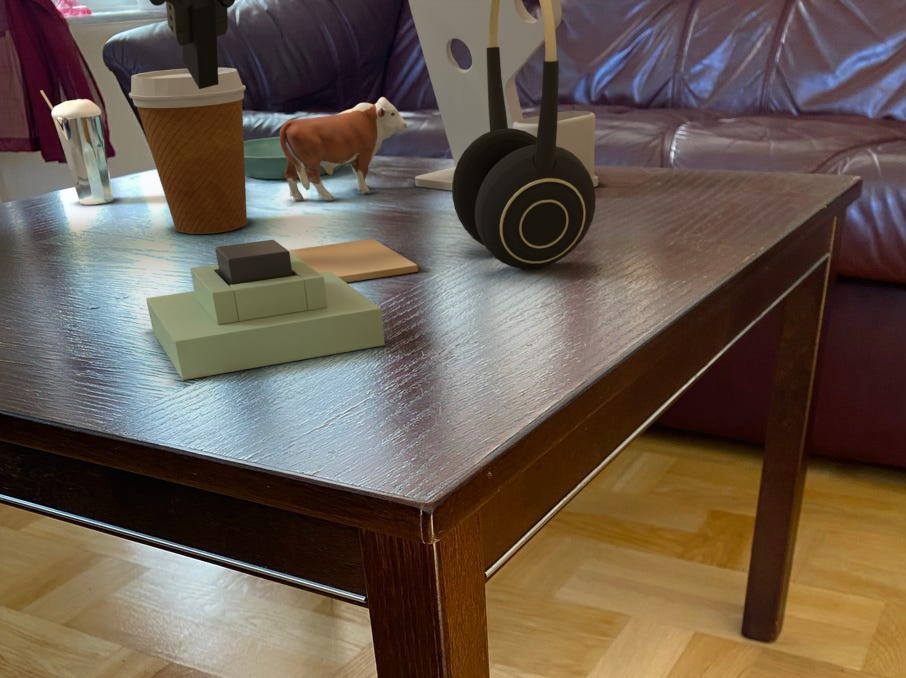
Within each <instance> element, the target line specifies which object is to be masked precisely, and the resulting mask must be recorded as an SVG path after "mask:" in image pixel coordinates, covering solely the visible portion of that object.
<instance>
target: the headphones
mask: <svg viewBox="0 0 906 678" xmlns="http://www.w3.org/2000/svg"><path fill="white" fill-rule="evenodd" d="M540 5H541V6H540ZM539 6H540V12H541V11H542V18H543V26H544V36H545V42H544V48H545V54H544V55H545V57H544V60H543V63H542V83H541V99H540V108H539V115H538V116H539V123H538V131H537V137H536V136H534V135H532V134H530V133H528V132H526V131H522V130H518V129H512V128H508V124H507V116H506V109H505V101H504V94H503V86H502V78H501V64H500V48H499V47H498V38H497V36H498V17H499V7H500V0H491V3H490V12H489V28H488V48H487V81H488V107H489V124H490V132H488V133H485V134H483V135H481V136H480V137H479V138H477V139H476V140H475V141H473V142H472V143H471V144H470V145H469V147H468V148H467V149H466V150H465V151H464V152H463V154H462V156H461V157H460V159H459V161H458V163H457V166H456V169H455V171H454V176H453V182H452V191H451V197H452V203H453V208H454V211H455V213H456V215H457V218H458V221H459V222H460V224H461V226H462V227H463V228H464V230H465V231H466V232H467V234H468V235H469V236H470V237H471V238H472V239H474V241H476V242H478V244H480V245H482V246H484V247H485V249H486V250H487V251H488V252H489V253H490V254H491V255H492V256H493V257H494V258H495V259H496V260H497V261H499V262H501V263H502V264H504V265H507V266H509V267H511V268H516V269H522V270H535V269H539V268H544V267H547V266H550V265H552V264H555V263H556V262H558V261H560V260H562V259H563V258H565V257H567V256H568V255H569V254H570V253H571V252H573V251H574V250H575V249H576V248H577V247H578V246H579V244H580V243H582V242H583V240H584V238H585V236H586V235H587V233H588V232H589V230H590V227H591V225H592V223H593V220H594V215H595V211H596V202H597V201H596V200H597V199H596V198H597V197H596V191H595V187H594V184H593V181H592V179H591V176H590V174H589V172H588V171H587V169H586V168H585V166H584V165H583V163H582V162H581V160H580V159H579V158H577V157H576V156H575V155H574V154H573V153H571V152H569V151H567V150H566V149H564V148H561V147H557V146H556V138H557V118H558V112H559V67H560V66H559V65H560V64H559V63H560V60H558V58H557V55H558V54H557V38H556V36H557V35H556V29H555V25H554V17H553V10H552V4H551V0H540V2H539Z"/></svg>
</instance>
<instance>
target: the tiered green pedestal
mask: <svg viewBox="0 0 906 678" xmlns="http://www.w3.org/2000/svg"><path fill="white" fill-rule="evenodd" d="M290 259H291V267H292V274H293V276H290V277H283V278H276V279H269V280H262V281H255V282H248V283H241V284H235V285H230V286H229V285H228V284H227V283H226V282H225V281H224V280H223V279H222V278H221V277H220V273H219V267H218V263H217V264H210V265H203V266H196V267H195V266H194V267H190V268H189V271H190V276H191V280H192V286H193V290H191V291H185V292H179V293H172V294H166V295H165V294H164V295H158V296H152V297H145V300H146V306H147V311H148V315H149V319H150V325H151V328H152V329H151V330H152V333H153V335H154V337H155V338H156V340H157V341H158V343H159V344H160V346H161V347H162V349H163V351H164V352H165V354H166V355H167V357H168V359H169V360H170V362H171V363H172V365H173V367H174V368H175V370H176V371H177V373H178V375H179V376H180V378H181V379H182V380H183V381H186V380H192V379H198V378H204V377H209V376H215V375H222V374H226V373H232V372H238V371H244V370H249V369H256V368H261V367H267V366H273V365H278V364H284V363H289V362H290V363H291V362H295V361H296V362H297V361H301V360H307V359H313V358H318V357H326V356H330V355H337V354H343V353H347V352H354V351H359V350H364V349H365V350H366V349H372V348H377V347H382V346H385V344H386V343H385V334H384V333H385V331H384V322H383V321H384V320H383V311H382V310H383V309H382V308H381V307H380V306H379V305H377V304H376V303H375V302H373V301H372V300H370V299H369V298H368V297H366V295H364V294H362V293H361V292H360V291H358V290H357V289H355V288H354V287H353V286H352V285H350V284H349V283H348V282H344V281H343V280H342V279H340V278H339V277H338V276H336V275H335V274H333V273H332V272H331V271H329V272H322V273H318V272H317V271H315V270H314V269H313V268H311V267H310V266H309V265H307V264H306V263H305V262H303V261H302V260H301V259H300V258H298V257H297V256H296V255H294V254H290Z"/></svg>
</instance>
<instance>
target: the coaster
mask: <svg viewBox="0 0 906 678" xmlns="http://www.w3.org/2000/svg"><path fill="white" fill-rule="evenodd" d="M287 250H288V251H289V252H290V254H294V255H296V256H297V257H298V258H300V259H301V260H302V261H303V262H305V263H306V264H307V265H309V266H310V267H311V268H313V269H314V270H315V271H317V272H318V273H322V272H329V271H331V272H332V273H333V274H335V275H336V276H338V277H339V278H340V279H342V280H343V281H344V282H346V283H353V282H361V281H365V280H373V279H380V278H386V277H393V276H398V275H405V274H412V273H417V272H419V266H418V264H417V263H415V262H413V261H411V260H410V259H408V258H406V257H405V256H403V255H401V254H400V253H398V252H396V251H394V250H393V249H391V248H389V247H388V246H386V245H384V244H382V243H381V242H379V241H378V240H375V239H374V238H368V239H360V240H353V241H346V242H338V243H332V244H322V245H316V246H309V247H308V246H307V247H302V248H301V247H300V248H295V249H287Z"/></svg>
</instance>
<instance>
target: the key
mask: <svg viewBox="0 0 906 678" xmlns="http://www.w3.org/2000/svg"><path fill="white" fill-rule="evenodd" d="M214 250H215V255H216V261H217V264H218V267H219V273H220V277H221V278H222V279H223V280H224V281H225V282H226V283H227V284H228V285H229V286H230V285H235V284H241V283H248V282H255V281H262V280H269V279H276V278H283V277H290V276H293V274H292V267H291V259H290V252H289V251H288V250H289V249H287V248H285V247H284V246H283V245H282V244H281V243H279V242H278V241H276V240H275V239H266V240H259V241H251V242H244V243H235V244H229V245H222V246H216V247H215V249H214Z"/></svg>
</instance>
